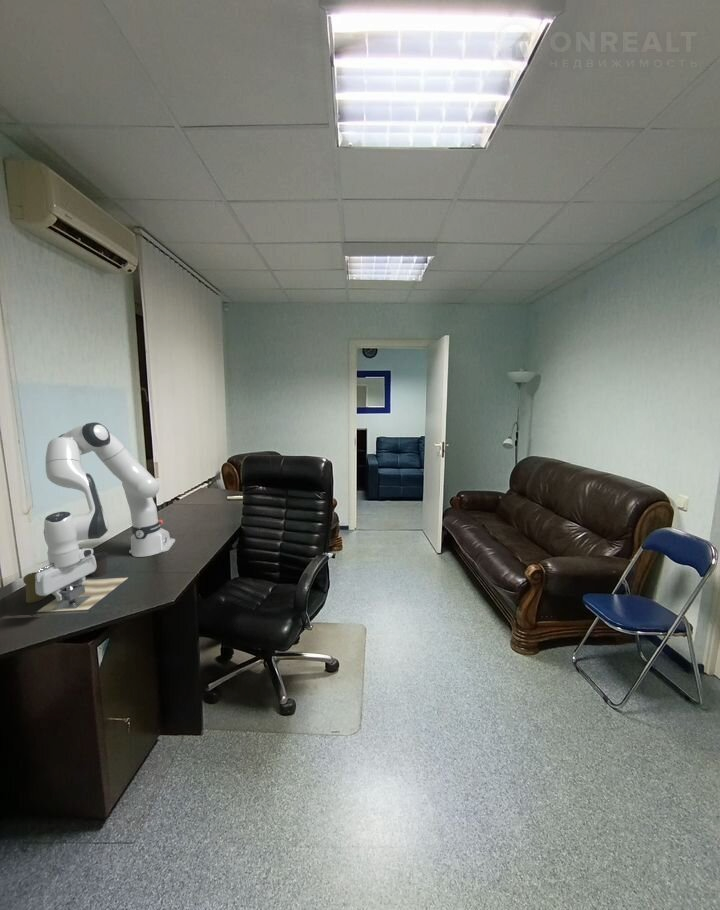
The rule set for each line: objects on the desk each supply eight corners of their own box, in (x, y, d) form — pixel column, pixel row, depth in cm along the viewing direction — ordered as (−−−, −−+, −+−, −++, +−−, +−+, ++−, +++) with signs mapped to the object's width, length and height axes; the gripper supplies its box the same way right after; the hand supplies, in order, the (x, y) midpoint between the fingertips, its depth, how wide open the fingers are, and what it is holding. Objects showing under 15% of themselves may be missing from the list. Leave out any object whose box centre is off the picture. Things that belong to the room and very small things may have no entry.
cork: (25, 601, 140) (20, 574, 139) (46, 595, 145) (41, 568, 143) (26, 607, 136) (21, 579, 135) (48, 601, 140) (43, 573, 139)
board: (84, 582, 154) (84, 579, 154) (128, 580, 155) (128, 577, 155) (36, 615, 131) (35, 612, 130) (88, 612, 131) (88, 609, 131)
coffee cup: (114, 574, 160) (111, 552, 159) (93, 582, 154) (89, 559, 152) (106, 570, 165) (102, 549, 163) (84, 578, 158) (81, 555, 157)
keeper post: (69, 598, 139) (66, 581, 139) (91, 596, 140) (88, 580, 139) (52, 609, 132) (49, 592, 131) (75, 608, 132) (72, 591, 131)
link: (71, 591, 139) (70, 584, 138) (85, 592, 138) (84, 584, 137) (55, 600, 133) (54, 592, 132) (70, 601, 132) (69, 593, 131)
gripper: (42, 571, 122) (49, 611, 124) (97, 547, 142) (102, 581, 144) (26, 570, 124) (33, 609, 126) (83, 546, 143) (88, 580, 145)
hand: (70, 594), depth 135 cm, fingers closed on link, 6 cm apart
